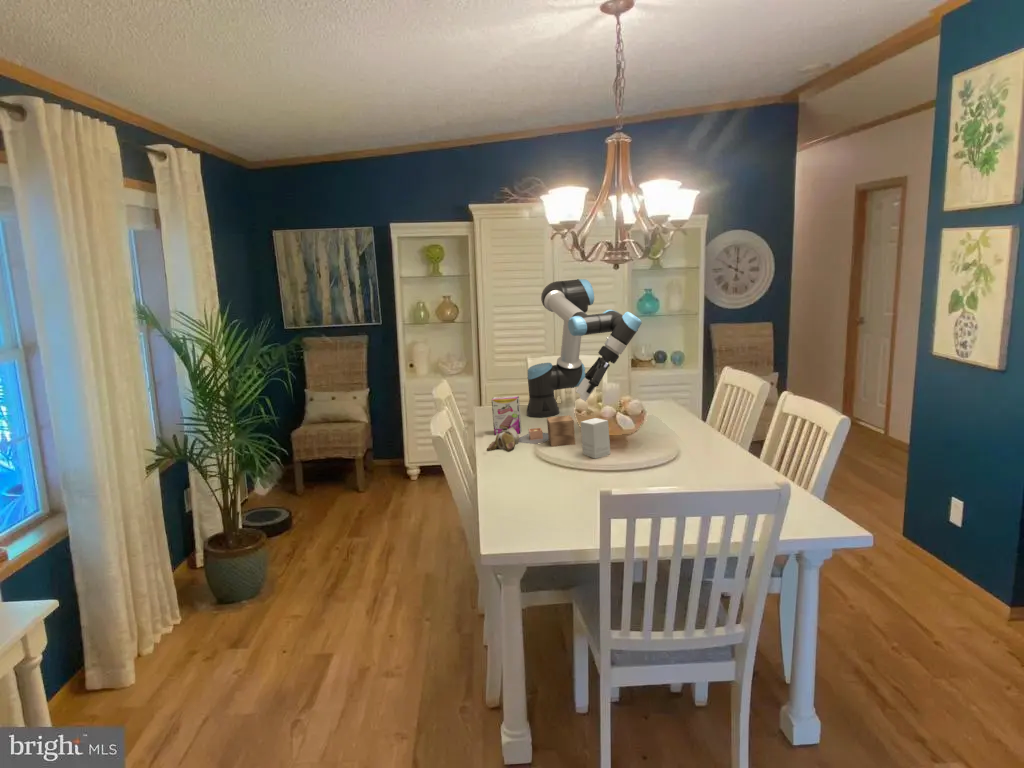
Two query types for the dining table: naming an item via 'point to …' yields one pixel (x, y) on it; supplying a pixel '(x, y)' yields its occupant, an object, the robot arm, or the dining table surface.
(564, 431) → the wooden block
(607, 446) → the supplement box
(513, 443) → the ceramic sculpture
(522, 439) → the board
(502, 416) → the candy bar box
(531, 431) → the dish
